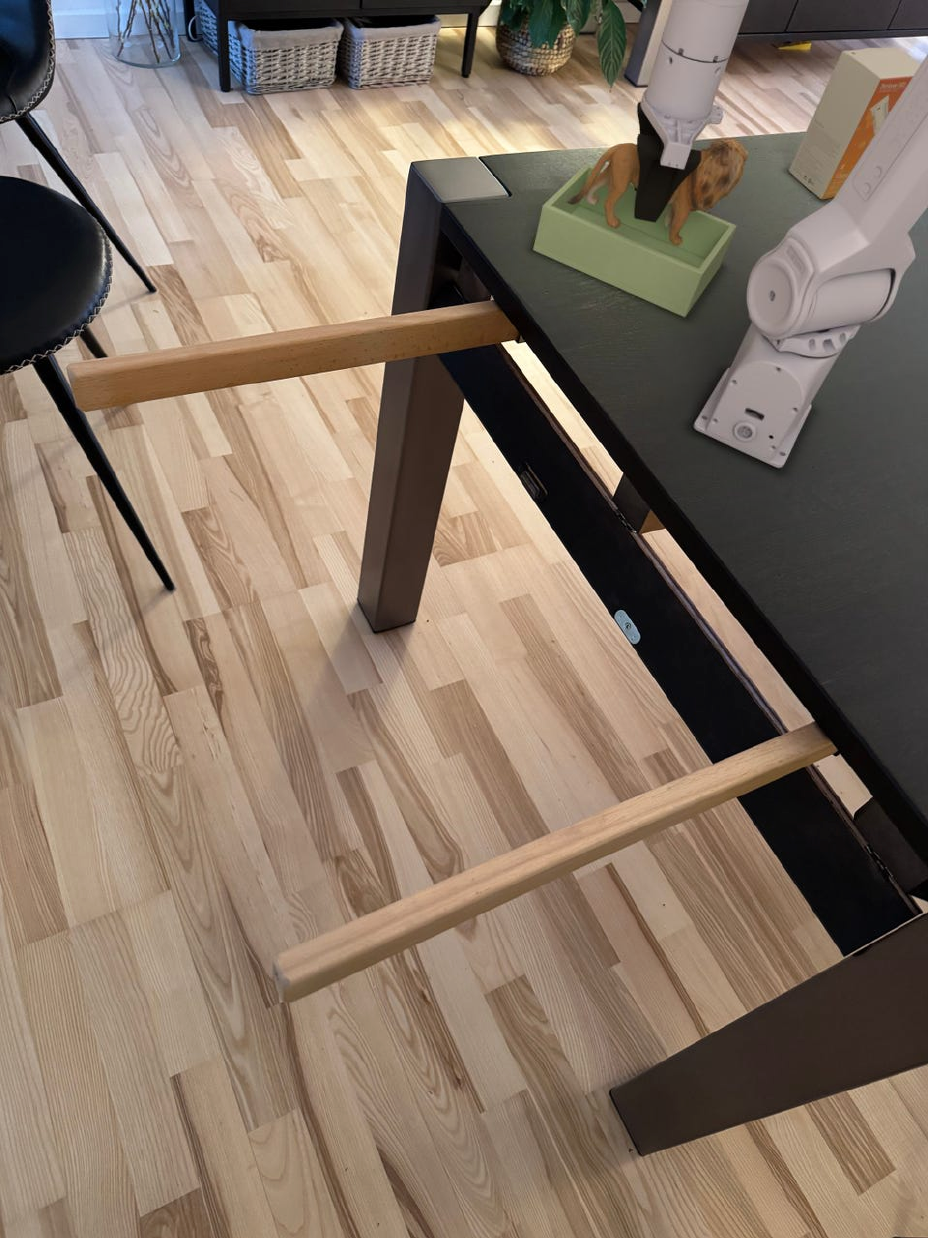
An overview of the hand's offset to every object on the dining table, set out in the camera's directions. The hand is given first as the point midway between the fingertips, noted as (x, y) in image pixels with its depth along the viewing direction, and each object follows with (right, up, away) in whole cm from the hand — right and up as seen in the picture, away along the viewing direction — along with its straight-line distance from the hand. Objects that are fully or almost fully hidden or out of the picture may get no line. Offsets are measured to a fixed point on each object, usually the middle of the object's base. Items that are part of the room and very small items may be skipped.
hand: (644, 204), depth 83 cm
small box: (+25, +12, +20) cm, 34 cm away
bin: (-1, -3, +5) cm, 6 cm away
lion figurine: (0, -1, +2) cm, 2 cm away
